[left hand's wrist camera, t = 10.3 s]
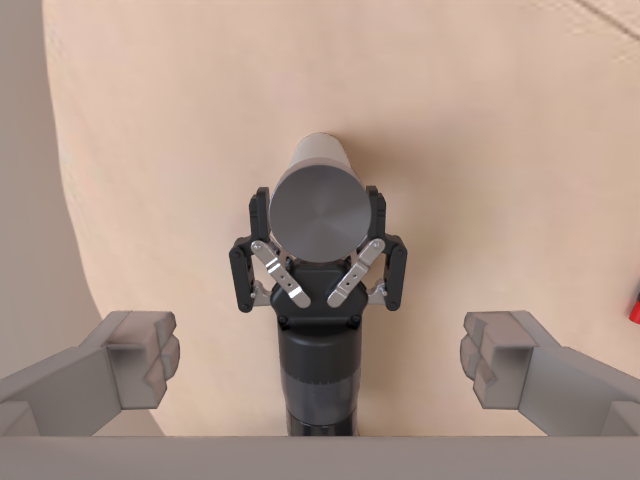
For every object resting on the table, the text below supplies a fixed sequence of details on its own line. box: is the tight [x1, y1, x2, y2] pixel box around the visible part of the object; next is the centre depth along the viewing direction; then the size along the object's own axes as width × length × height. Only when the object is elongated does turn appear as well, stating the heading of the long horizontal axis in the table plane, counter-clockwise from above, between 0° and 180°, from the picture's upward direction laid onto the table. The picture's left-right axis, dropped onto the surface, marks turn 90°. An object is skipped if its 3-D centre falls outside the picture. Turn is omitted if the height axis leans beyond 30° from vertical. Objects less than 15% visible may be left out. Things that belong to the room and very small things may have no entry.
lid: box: [269, 157, 371, 263], centre depth 21 cm, size 5×5×2 cm
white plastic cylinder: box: [288, 133, 352, 169], centre depth 28 cm, size 5×5×17 cm
